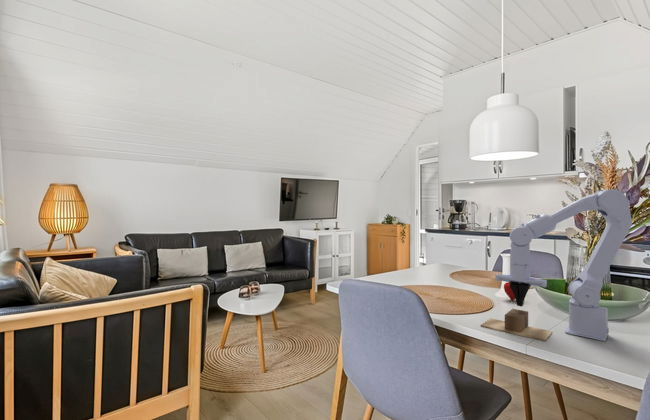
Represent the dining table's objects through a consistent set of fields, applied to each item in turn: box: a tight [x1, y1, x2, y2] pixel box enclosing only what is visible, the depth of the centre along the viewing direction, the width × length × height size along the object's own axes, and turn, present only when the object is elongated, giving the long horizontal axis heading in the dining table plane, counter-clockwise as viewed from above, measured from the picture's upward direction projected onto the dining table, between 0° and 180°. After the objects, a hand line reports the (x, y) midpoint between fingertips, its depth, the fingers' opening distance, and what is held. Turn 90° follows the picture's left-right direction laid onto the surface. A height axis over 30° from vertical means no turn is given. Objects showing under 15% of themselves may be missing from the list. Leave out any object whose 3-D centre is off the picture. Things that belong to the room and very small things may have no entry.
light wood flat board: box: [480, 317, 553, 342], centre depth 107 cm, size 18×9×1 cm, turn 46°
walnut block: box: [504, 308, 529, 333], centre depth 108 cm, size 4×4×9 cm
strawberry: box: [503, 282, 516, 301], centre depth 139 cm, size 6×8×10 cm
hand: (520, 305), depth 111 cm, fingers closed
